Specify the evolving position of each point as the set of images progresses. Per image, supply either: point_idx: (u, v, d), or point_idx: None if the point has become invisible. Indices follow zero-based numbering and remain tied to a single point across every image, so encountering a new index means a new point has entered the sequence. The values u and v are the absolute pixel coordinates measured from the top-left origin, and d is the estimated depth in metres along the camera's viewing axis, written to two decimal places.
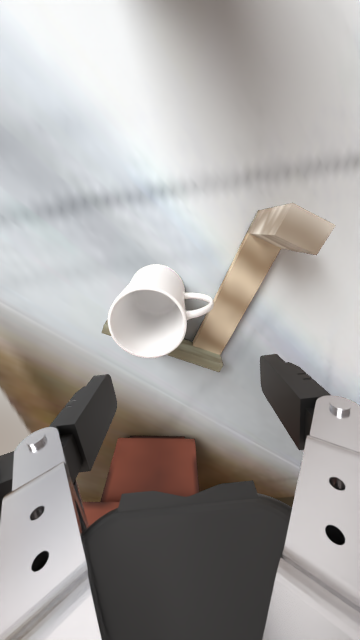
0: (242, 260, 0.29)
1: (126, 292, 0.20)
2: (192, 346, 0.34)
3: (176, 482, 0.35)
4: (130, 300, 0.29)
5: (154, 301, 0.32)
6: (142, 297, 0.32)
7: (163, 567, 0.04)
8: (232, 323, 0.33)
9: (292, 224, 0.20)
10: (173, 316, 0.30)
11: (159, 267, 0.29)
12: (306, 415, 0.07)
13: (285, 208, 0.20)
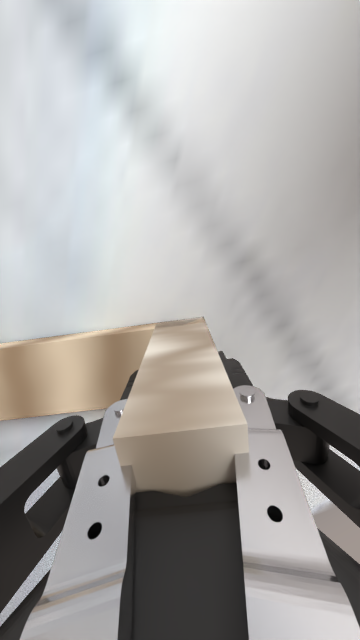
0: (101, 350, 0.12)
1: None
2: None
3: None
4: None
5: None
6: None
7: (163, 567, 0.04)
8: None
9: (185, 467, 0.05)
10: None
11: None
12: None
13: (220, 400, 0.05)
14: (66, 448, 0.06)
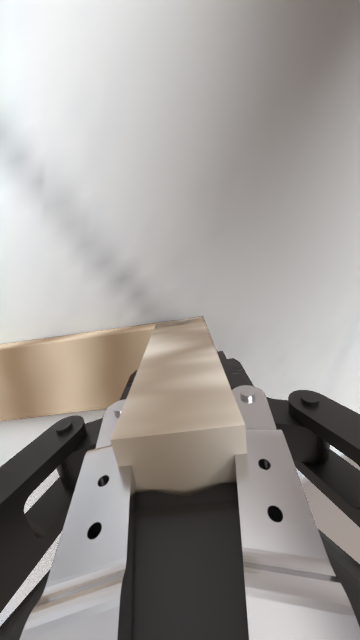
0: (101, 350, 0.13)
1: None
2: None
3: None
4: None
5: None
6: None
7: (163, 567, 0.04)
8: None
9: (183, 468, 0.05)
10: None
11: None
12: None
13: (218, 401, 0.05)
14: (65, 448, 0.06)
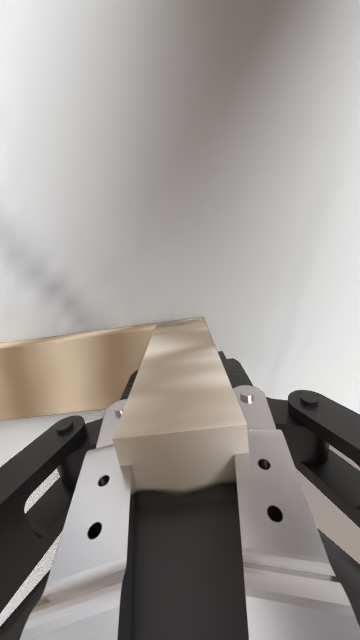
0: (101, 350, 0.12)
1: None
2: None
3: None
4: None
5: None
6: None
7: (163, 567, 0.04)
8: None
9: (185, 467, 0.05)
10: None
11: None
12: None
13: (220, 401, 0.05)
14: (66, 448, 0.06)
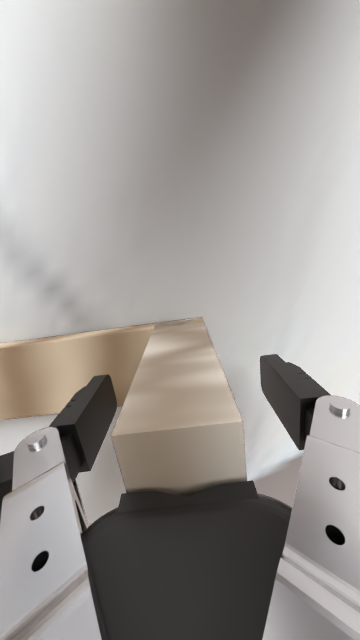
0: (101, 349, 0.13)
1: None
2: None
3: None
4: None
5: None
6: None
7: (163, 567, 0.04)
8: None
9: (182, 464, 0.05)
10: None
11: None
12: (306, 415, 0.07)
13: (217, 398, 0.05)
14: None
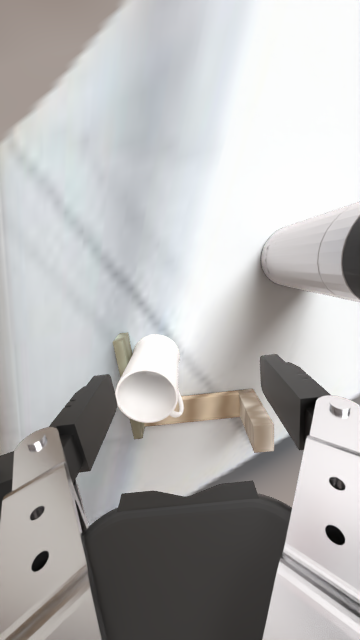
0: (221, 400, 0.39)
1: (161, 373, 0.25)
2: None
3: None
4: None
5: None
6: None
7: (163, 567, 0.04)
8: (175, 419, 0.40)
9: (263, 431, 0.31)
10: (150, 384, 0.35)
11: (176, 350, 0.36)
12: (306, 415, 0.07)
13: (268, 420, 0.32)
14: None
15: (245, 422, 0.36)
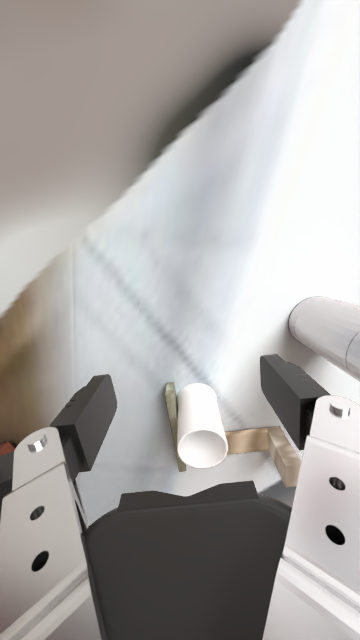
0: (252, 437, 0.45)
1: (215, 432, 0.32)
2: None
3: None
4: None
5: None
6: None
7: (163, 567, 0.04)
8: None
9: (294, 470, 0.37)
10: None
11: (215, 397, 0.42)
12: (306, 415, 0.07)
13: (297, 460, 0.38)
14: None
15: (275, 458, 0.42)
